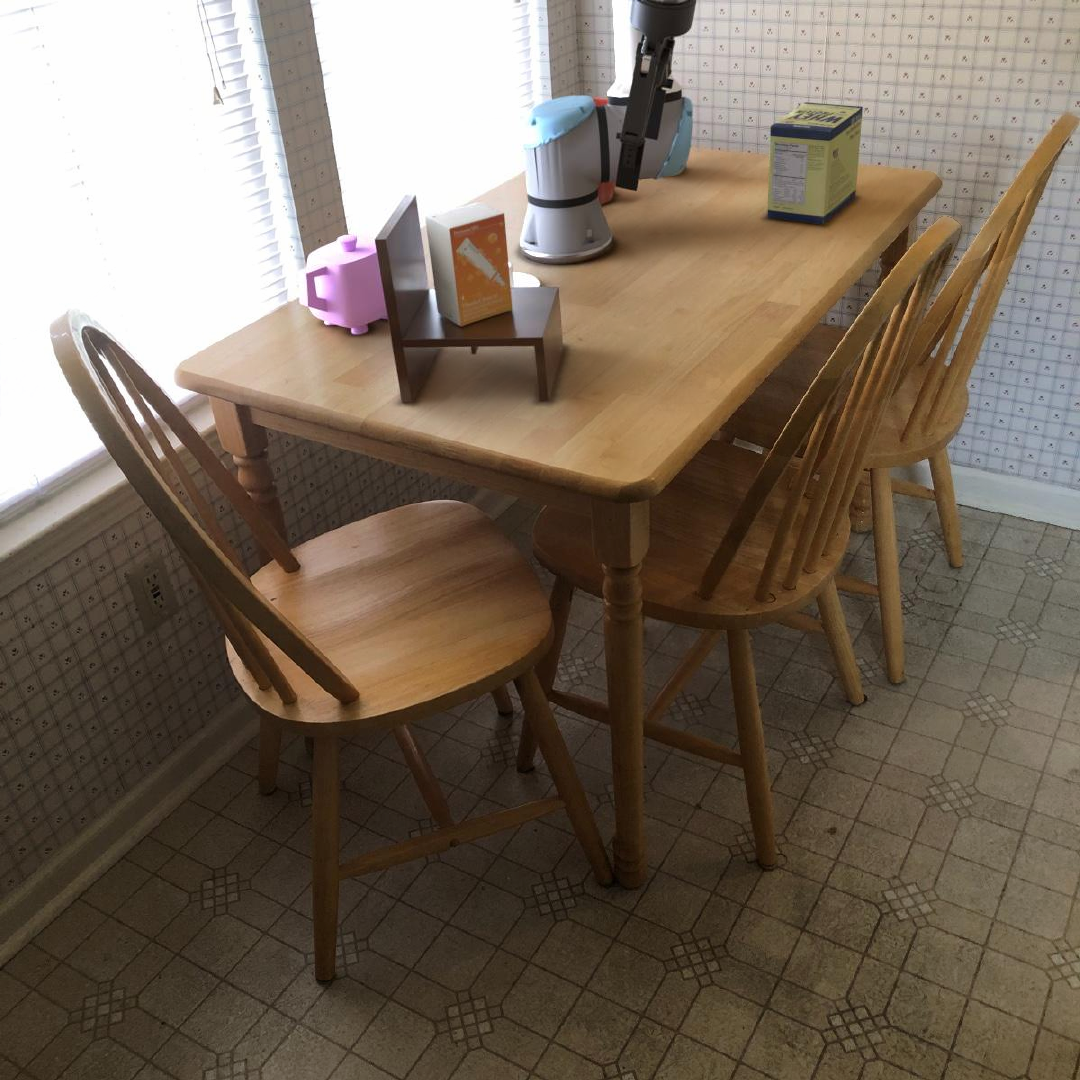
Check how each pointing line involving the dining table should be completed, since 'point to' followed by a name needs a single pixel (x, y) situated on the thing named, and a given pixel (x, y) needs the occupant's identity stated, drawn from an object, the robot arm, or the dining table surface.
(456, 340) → the wooden toy chair
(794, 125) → the protein box
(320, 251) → the teapot
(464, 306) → the small box
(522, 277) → the candle holder
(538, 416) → the dining table surface
